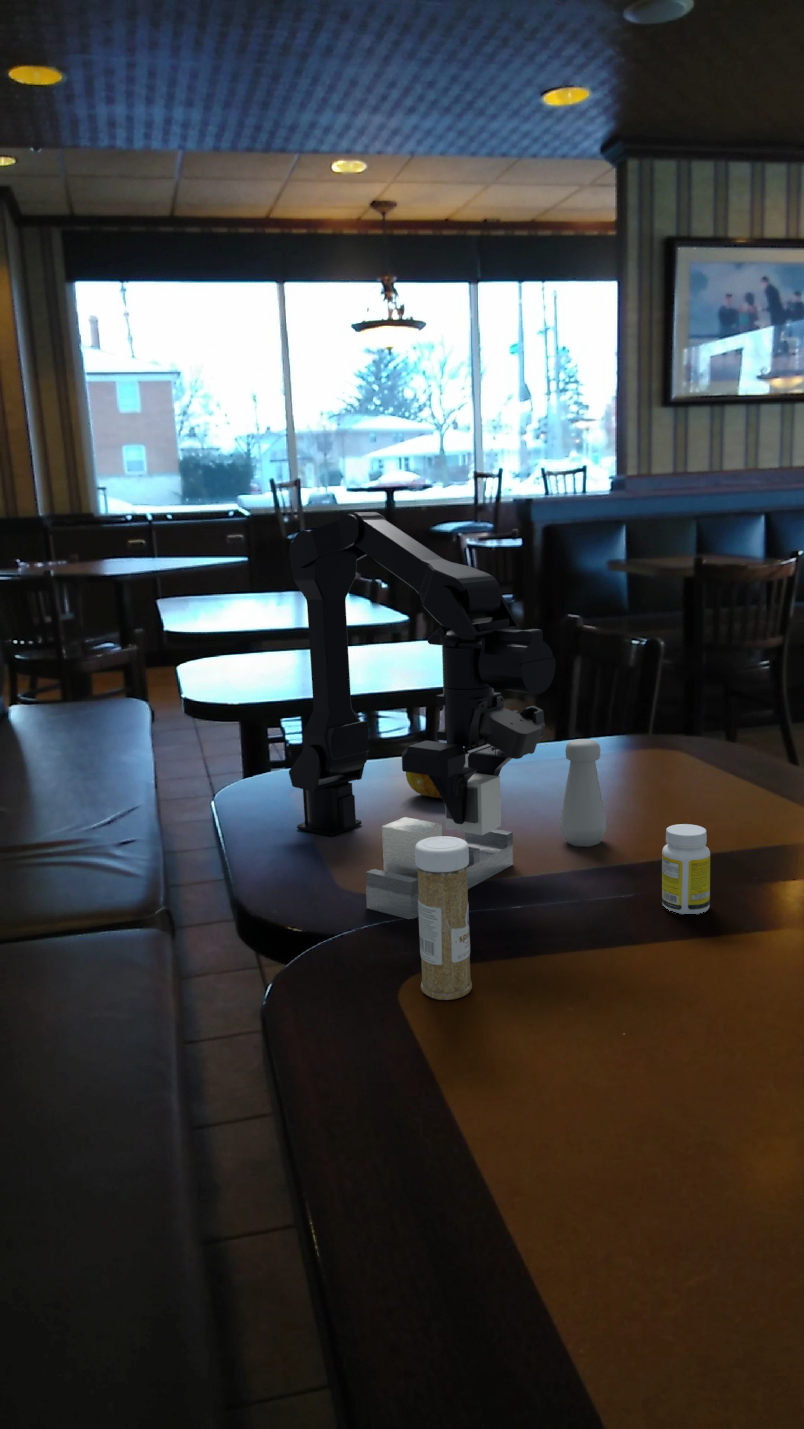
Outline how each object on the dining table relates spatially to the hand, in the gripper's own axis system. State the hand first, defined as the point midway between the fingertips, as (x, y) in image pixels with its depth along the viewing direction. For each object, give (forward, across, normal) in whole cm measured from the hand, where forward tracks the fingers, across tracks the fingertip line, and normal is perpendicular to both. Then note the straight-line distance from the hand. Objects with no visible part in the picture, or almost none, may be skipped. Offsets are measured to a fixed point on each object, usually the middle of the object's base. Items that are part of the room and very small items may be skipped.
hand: (471, 818), depth 117 cm
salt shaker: (+6, +16, -6) cm, 18 cm away
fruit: (+7, +24, +22) cm, 33 cm away
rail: (+6, -6, 0) cm, 9 cm away
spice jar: (+6, -27, -15) cm, 32 cm away
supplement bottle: (+6, +2, -25) cm, 26 cm away
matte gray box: (+1, 0, 0) cm, 1 cm away
